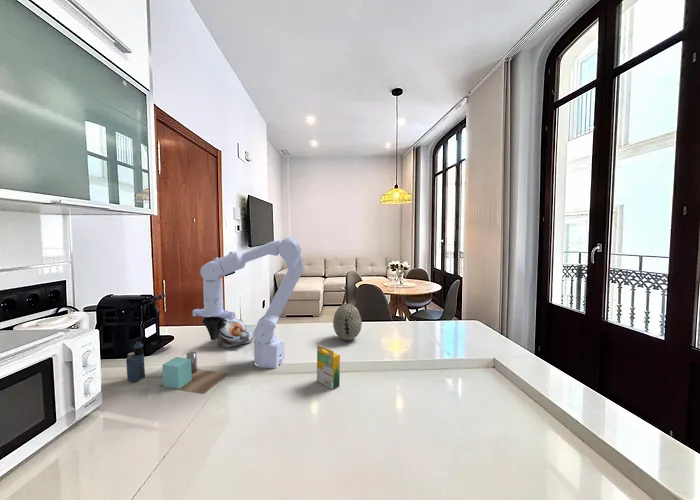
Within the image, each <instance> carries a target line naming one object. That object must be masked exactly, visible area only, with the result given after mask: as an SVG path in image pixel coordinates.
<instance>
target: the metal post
mask: <svg viewBox="0 0 700 500" xmlns="http://www.w3.org/2000/svg"><path fill="white" fill-rule="evenodd" d="M186 358H187V359H191V372H192V374H193V373H196V372H197V369H198V363H197V362H198V361H197V358H198V357H197V351H189V352H187V353H186Z"/></svg>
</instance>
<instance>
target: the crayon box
mask: <svg viewBox="0 0 700 500" xmlns="http://www.w3.org/2000/svg"><path fill="white" fill-rule="evenodd" d="M340 368H341V354H338V353H337V352H334V351H333V350H331V349H329V348H327V347H324V346H322V345H318V344H317V345H316V382H318V383H320V384H322V385H324V386H326V387H328V388H329V389H331V390H334V389H337V388H338V387H340V379H341V378H340V377H341V376H340V375H341V369H340Z"/></svg>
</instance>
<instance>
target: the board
mask: <svg viewBox="0 0 700 500" xmlns="http://www.w3.org/2000/svg"><path fill="white" fill-rule="evenodd" d="M229 375H230V373H228V372H220V371H215V370H209V369H208V370H207V369H200V368H197V372H196V373H193V374H192V380H191V381H190V382H188V383H187V384H185V385H184V386H183V387H181V388H180V389H175V388H169V387H163V383H162V384H160V385H158V386H157V387H159V388H165V389H171V390H177V391H183V392H188V393H197V394H202V395H205V394H206V393H207V392H208V391H210V390H211V389H212V388H214V387H215V386H216V385H217V384H218V383H220V382H221V381H222V380H224V379H225V378H226V377H228V376H229Z"/></svg>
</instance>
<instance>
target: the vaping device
mask: <svg viewBox="0 0 700 500" xmlns="http://www.w3.org/2000/svg"><path fill="white" fill-rule="evenodd" d="M125 360H126V378H127V380H128V381H129V382H134V383H135V382H136V383H139V382H140V381H141V380H143V379H145V378H146V373H145V372H146V371H145V356H144V343H141V341H136V343H135V344H134V345H133V352H129V353H127V357H126V359H125Z"/></svg>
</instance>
